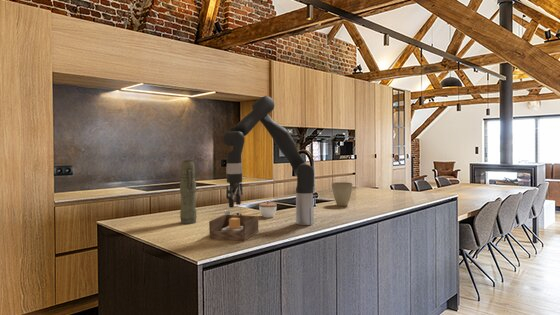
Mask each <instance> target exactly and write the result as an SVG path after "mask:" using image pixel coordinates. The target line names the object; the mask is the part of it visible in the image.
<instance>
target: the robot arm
mask: <svg viewBox="0 0 560 315" xmlns="http://www.w3.org/2000/svg"><path fill="white" fill-rule="evenodd" d="M274 108H275V101H274V100H273V98H272V97H270V96H269V95H264V96H262V97H259V98H258V99H257V100H256V101H254V102H253V104H252V106H251V109H252V111H250V112H249V113H248V114H246V115H245V116H244V117H243V118H242V119H241V120H240V121H239V122H238V123H237V124H236V125H234V126H232V127H230V129H227V130H226V131H225V133H224V134H223V135H222V141H223V144H224V145H225V146H227V147H233V148H232V149H231V150H228V151H227V153H226V170H225V171H226V183H228V184H229V185H226V188H225V189H226V198H225V199H227V200H228V207H229V208H234V207H235V205H236V206H239V205H241V197H242V195H243V196H244V194H243V192H244V191H243V166H242V165H243V164H242V154H243V148H244V145H245V136H247V135H249V133H250V132H251V131H252V130H253V129H254V127H255V126H256V125H257V124H258V123H259V122H260V123H261V124H262V125H263V127H264V128H265V129H266V131H267V132H268V134H269V135H270V137H271V138H272V140H273V141H274V143H275V144H276V147H277V148H278V149H279V151H280V152H281V153H282V155H283V156H284V157H285V158H286V160H287V161H288V162H289V164H290V166H291V168H292V170H293V172H294V174H295V176H296V178H297V179H296V180H297V181H296V188H295V222H296V223H295V224H296V225H299V226H312V225H313V224H314V222H315V220H314V219H315V217H314V216H315V214H314V213H315V212H314V209H315V208H314V207H315V206H314V196H313V195H314V194H313V192H314V187H315V183H314V182H315V173H314V172H315V171H314V168H313V167H312V165H310V164H308V163H307V162H306V161H305V160H304V159H303V157H302V156H301V155H300V152H299V151H298V147H297V145H296V143H295V141H294V138H293V137H292V135H291V133H290V132H289V131H288V129H286V128H285V127H284V126H282V125H281V124H278V123H277V122H275V121H274V120H273V118H272V117H271V116H270V115H269V114H270V113H272V112H273V111H274Z"/></svg>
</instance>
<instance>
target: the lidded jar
mask: <svg viewBox="0 0 560 315" xmlns="http://www.w3.org/2000/svg"><path fill="white" fill-rule="evenodd" d="M277 206H278V205H277V203H275V202H269V201H266V202H262V203H259V204H258V209H259V213H260V215H261V216H262V218H269V219H270V218H273V217H274V216H275V214H276V212H277Z"/></svg>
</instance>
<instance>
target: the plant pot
mask: <svg viewBox="0 0 560 315" xmlns="http://www.w3.org/2000/svg"><path fill="white" fill-rule="evenodd" d="M353 185H354V183H353V182H347V181H344V182H343V181H339V182H337V181H336V182H331V189H332V194H333V198H334V200H335V204H336V206H338V207H346V206H348V205H349V202H350V198H351V196H352V190H353Z"/></svg>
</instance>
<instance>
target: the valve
mask: <svg viewBox="0 0 560 315" xmlns="http://www.w3.org/2000/svg"><path fill="white" fill-rule="evenodd" d="M225 214H229V215H232V210H230V209H228V210H227V209H226V210H224V215H225ZM235 215H243V213H242V214H241V213H239V212H236V214H235Z"/></svg>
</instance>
